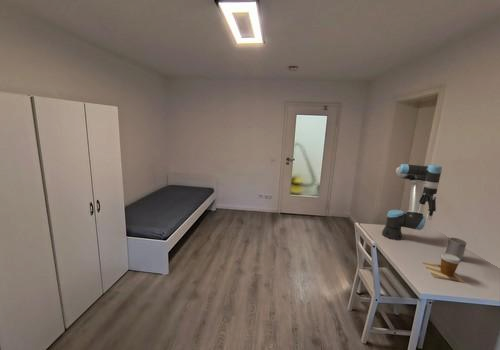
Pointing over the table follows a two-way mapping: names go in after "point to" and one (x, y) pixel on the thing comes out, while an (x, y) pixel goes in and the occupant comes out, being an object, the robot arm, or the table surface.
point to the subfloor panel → (436, 272)
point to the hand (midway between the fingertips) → (424, 216)
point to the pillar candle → (456, 247)
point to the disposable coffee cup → (449, 264)
